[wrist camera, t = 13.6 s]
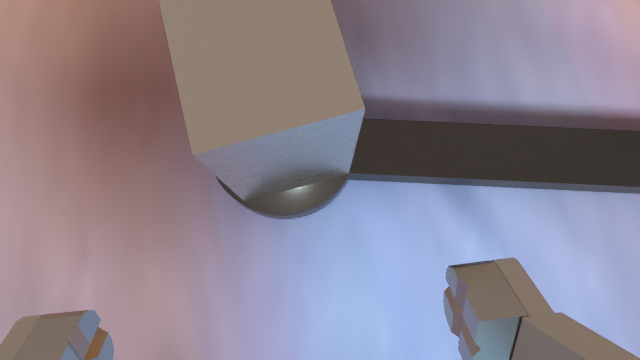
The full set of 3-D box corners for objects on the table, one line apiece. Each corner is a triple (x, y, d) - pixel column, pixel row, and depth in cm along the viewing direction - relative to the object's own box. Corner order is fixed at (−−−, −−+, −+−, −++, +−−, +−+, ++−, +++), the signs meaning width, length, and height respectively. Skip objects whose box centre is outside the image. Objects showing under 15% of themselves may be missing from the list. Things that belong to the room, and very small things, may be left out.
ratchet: (209, 215, 21) (172, 196, 16) (224, 83, 23) (194, 27, 17) (705, 240, 21) (833, 229, 15) (684, 103, 22) (795, 52, 17)
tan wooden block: (320, 79, 21) (318, -39, 13) (348, 173, 20) (365, 109, 12) (221, 104, 20) (158, 0, 13) (244, 201, 19) (191, 154, 12)
